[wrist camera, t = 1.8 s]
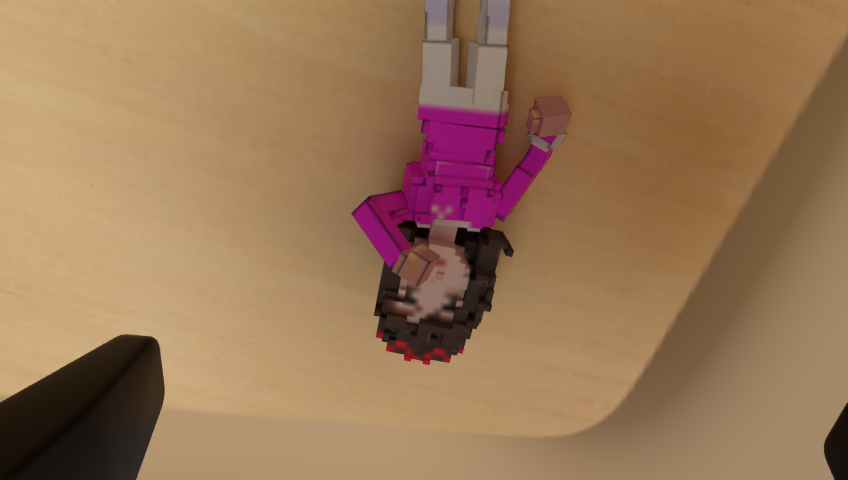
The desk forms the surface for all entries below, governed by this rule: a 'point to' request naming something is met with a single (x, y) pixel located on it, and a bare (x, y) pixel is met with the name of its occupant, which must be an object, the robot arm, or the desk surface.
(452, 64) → the character figurine
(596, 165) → the desk surface
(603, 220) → the desk surface
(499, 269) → the desk surface
